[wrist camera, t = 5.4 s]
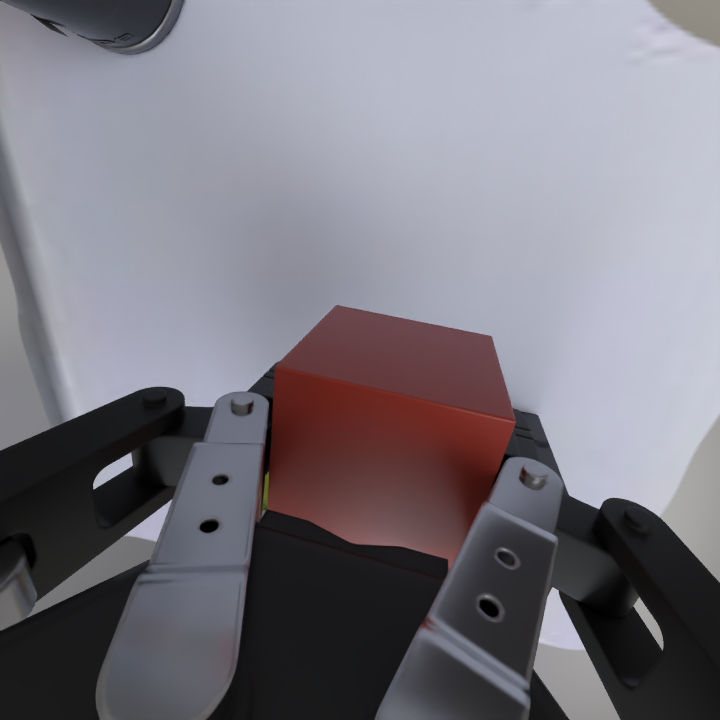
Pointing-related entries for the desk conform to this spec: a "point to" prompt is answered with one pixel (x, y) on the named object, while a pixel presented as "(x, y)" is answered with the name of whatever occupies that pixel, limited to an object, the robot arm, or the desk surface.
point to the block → (388, 430)
